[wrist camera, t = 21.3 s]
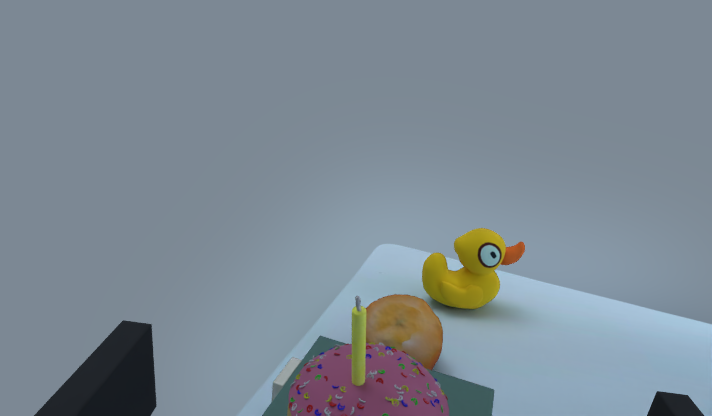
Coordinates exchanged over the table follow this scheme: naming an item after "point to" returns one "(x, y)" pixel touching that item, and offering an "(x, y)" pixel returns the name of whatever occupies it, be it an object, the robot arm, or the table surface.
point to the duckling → (469, 270)
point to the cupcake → (365, 381)
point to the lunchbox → (464, 398)
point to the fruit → (405, 327)
